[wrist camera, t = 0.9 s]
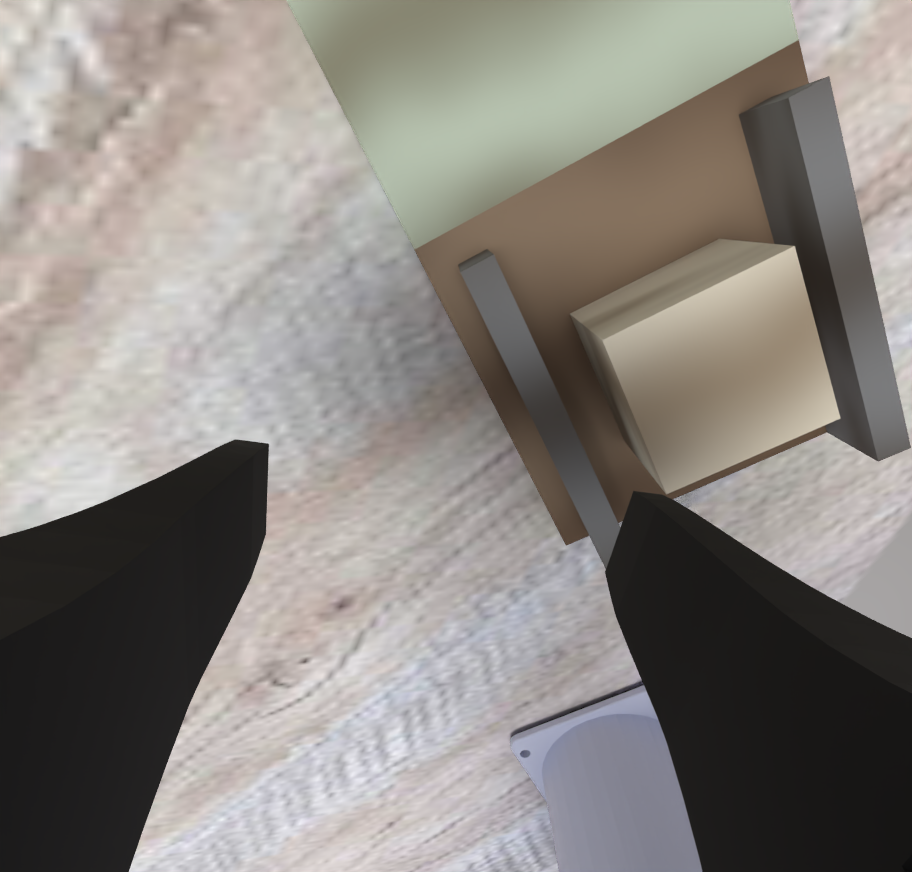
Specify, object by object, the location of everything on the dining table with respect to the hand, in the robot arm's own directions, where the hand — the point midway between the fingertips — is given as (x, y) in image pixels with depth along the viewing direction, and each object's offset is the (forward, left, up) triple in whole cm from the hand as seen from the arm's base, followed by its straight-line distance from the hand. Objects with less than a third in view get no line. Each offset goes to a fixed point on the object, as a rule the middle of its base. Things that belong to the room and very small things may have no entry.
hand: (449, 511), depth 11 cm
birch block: (-2, -7, -8) cm, 11 cm away
